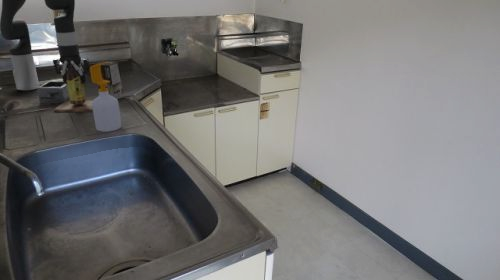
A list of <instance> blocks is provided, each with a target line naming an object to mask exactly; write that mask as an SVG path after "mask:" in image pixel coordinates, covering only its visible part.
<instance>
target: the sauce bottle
mask: <svg viewBox="0 0 500 280" xmlns="http://www.w3.org/2000/svg"><path fill="white" fill-rule="evenodd" d="M66 60H67V61H68V69H67V72H66V81H67V87H68V93H69V100H68V101H70V103H71V104H73V105H79V104H83V103H85V101H86V94H85V86H84V84H81V79H80V74H79V72H78V71H77V70H76V69H75V68H74V66H73V65H72V64H71V61H72V60H73V58H71V57H67V58H66Z"/></svg>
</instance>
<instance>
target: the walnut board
mask: <svg viewBox="0 0 500 280" xmlns="http://www.w3.org/2000/svg"><path fill="white" fill-rule="evenodd" d="M92 103H93V100H85V103H83V104H79V105H73V104H71V103H70V100H68V101H65V102H64V103H60V105H58V106H56V108H54V112H55V113H67V112H69V113H72V112H78V113H79V112H81V113H83V112H87V113H88V112H93V108H92Z"/></svg>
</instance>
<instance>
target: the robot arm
mask: <svg viewBox="0 0 500 280" xmlns="http://www.w3.org/2000/svg"><path fill="white" fill-rule="evenodd" d="M26 1H27V0H1V13H0V14H1V15H0V34H1V36H2V38H3V39H4V40H5V41H17V40H18V42H17V44H15V45H14V46H12V47H10V48H9V55H10V58H11V62H12V66H13V67H12V68H13V70H12V73H13V78H14V82H15V83H14V84H15V86H16V90H17V91H18V90H19V91H32V90H37V87H39V86H40V82H39V79H38V73H37V69H36V64H35V60H34V55H33V51H32V44H31V43H32V42H31V38H30V30H29V27H28V25H27V22H26V21H25V20H24V19H22V18H16V19H14V18H15V16H16V14H17V13H18V12H19V11H20V9H22V8H23V6H24V5H25V4H26ZM44 3H45V5H46V7H47V8H49V9H50V10H51V11H62V10H63V11H62V14H60V15H57V16H55V17H54V18H53V24H54V29H55V34H56V35H55V38H56V44H57V48H58V49H57V50H58V54H59V58H54V59H52V63H53V67H54V70H55V72H56V73H55V74H57V75H61V79H62V81H63V82H64V83H65V84H67V81H66V72H67V69H68V61H67V60H66V58H67V57H71V58H73V60H72V61H71V64H72V65H73V66H74V68H75V69H76V70H77V71H78V72H79V74H80V79H81V84H83V85H84V84H85V83H86V74H89V72H90V65H89V63H90V62H89V59H88V58H82V57H81V55H80V49H79V43H78V37H77V33H76V29H75V24H74V19H75V18H74V17H75V16H74V15H75V7H76V4H75V3H76V0H44ZM81 63H82V64H83V67H82V65H81ZM61 64H62V68H61Z"/></svg>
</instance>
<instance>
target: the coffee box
mask: <svg viewBox="0 0 500 280" xmlns="http://www.w3.org/2000/svg"><path fill="white" fill-rule="evenodd" d="M104 62H106V64H103V65H101V66H100V69H101V75H102V79H103V80H108V81H110V83H106V85H105V88H107V89H108V92H109V95H110V96H113V97H114V98H116V99H117V100H119V99H122V98H124V97H125V96H124V91H123V90H124V88H123V87H124V86H123V81H122V75H121V74H122V73H121V67H120V62H114V61H104V60H103V61H101V62H97V63H95V64H94V65H96V64H100V63H104ZM97 85H98V84H97ZM99 89H101V88H100V86H99V85H98V90H99Z"/></svg>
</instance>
